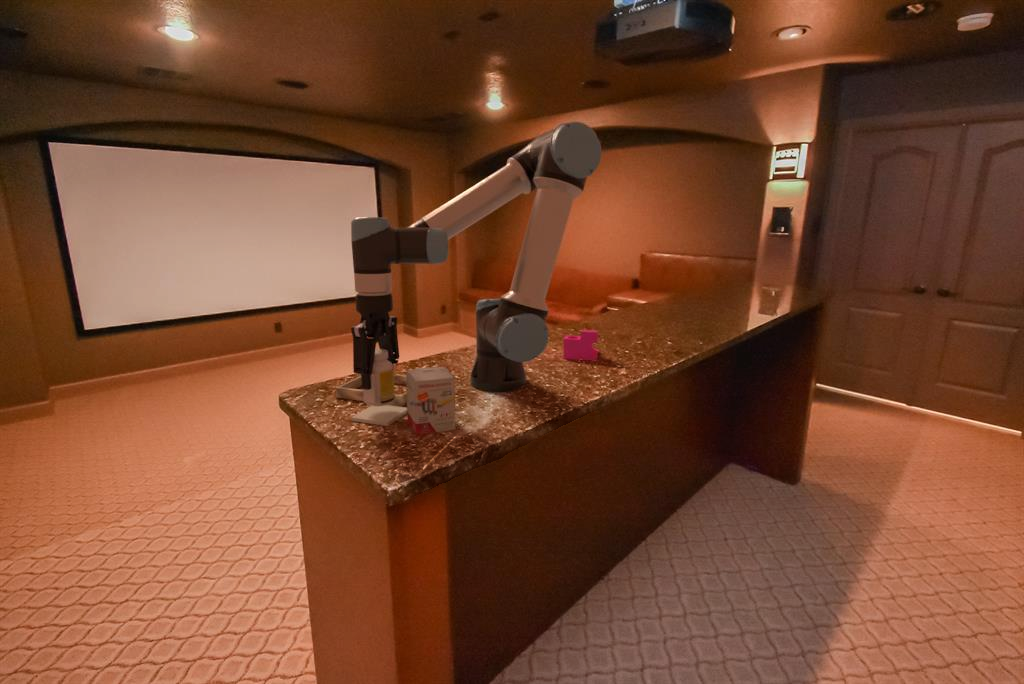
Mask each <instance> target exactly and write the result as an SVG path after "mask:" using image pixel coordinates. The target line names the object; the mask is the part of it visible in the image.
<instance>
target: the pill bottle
mask: <svg viewBox="0 0 1024 684" xmlns="http://www.w3.org/2000/svg"><path fill="white" fill-rule="evenodd" d="M387 358H388V351H387V350H385V349H380V348H375V356H374V363H373V370H372V373H374V374H375V383H376V400H377V403H375V404H372V403H365V404H366V405H368V406H369V407H370V406H384V405H388V404H390V403H392V402H393V401H394V399H395V394H396V393H395V392H394V389H395V383H394V375H393V364H392V363H391V362H390V361H388V360H387Z"/></svg>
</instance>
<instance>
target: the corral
mask: <svg viewBox="0 0 1024 684" xmlns="http://www.w3.org/2000/svg"><path fill="white" fill-rule="evenodd" d="M394 384H399V385H404V386H405V385H406V374H405V375H404V374H395V373H394ZM359 387H362V379H361V375H359V376H357V377H356V378H353V379H351V380H349V381H346V382H345V383H342V384H341V385H338V386H336V387H335V388H334V391H335V398H339V399H345V400H354V401H360V402H364V399H363V389H359ZM388 405H391V406H398V407H404V406H405V405H407V390H406V391H404V392H403V393H401V394H397V393H395V399H394V401H393V402H392V403H390V404H388Z"/></svg>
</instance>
